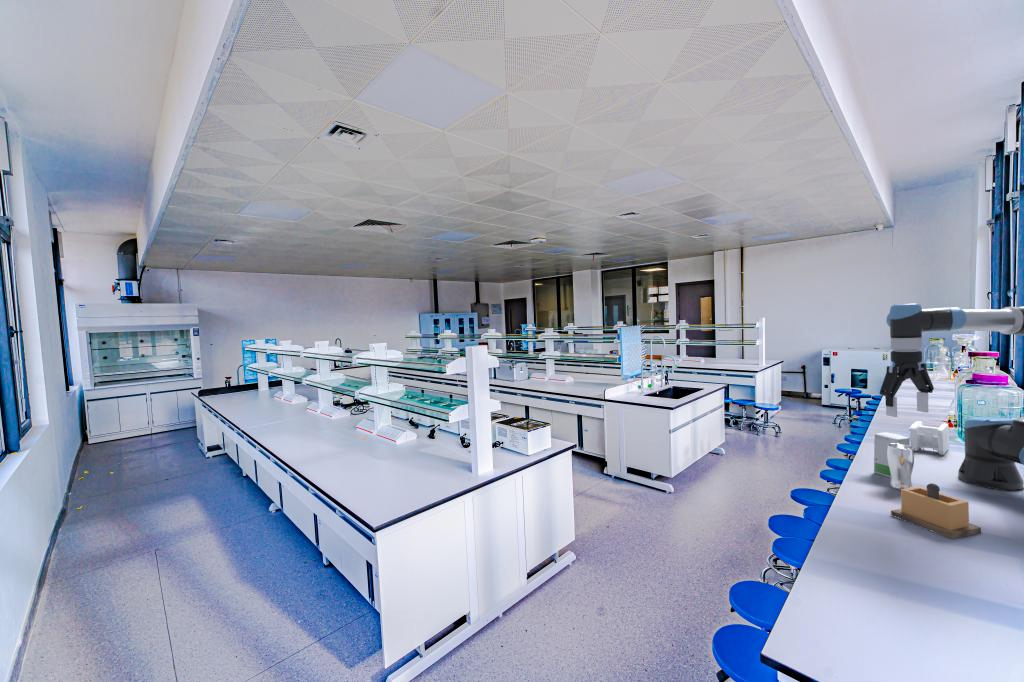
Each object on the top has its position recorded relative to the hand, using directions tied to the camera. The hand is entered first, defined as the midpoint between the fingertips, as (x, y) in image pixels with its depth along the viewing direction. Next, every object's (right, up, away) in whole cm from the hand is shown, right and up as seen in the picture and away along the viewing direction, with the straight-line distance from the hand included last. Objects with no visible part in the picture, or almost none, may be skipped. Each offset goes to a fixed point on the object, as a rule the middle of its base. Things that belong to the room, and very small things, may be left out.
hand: (907, 413), depth 137 cm
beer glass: (+7, -28, +10) cm, 31 cm away
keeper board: (-7, -30, -15) cm, 34 cm away
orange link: (-7, -28, -15) cm, 33 cm away
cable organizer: (+51, -24, +43) cm, 71 cm away
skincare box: (+14, -27, +20) cm, 37 cm away
